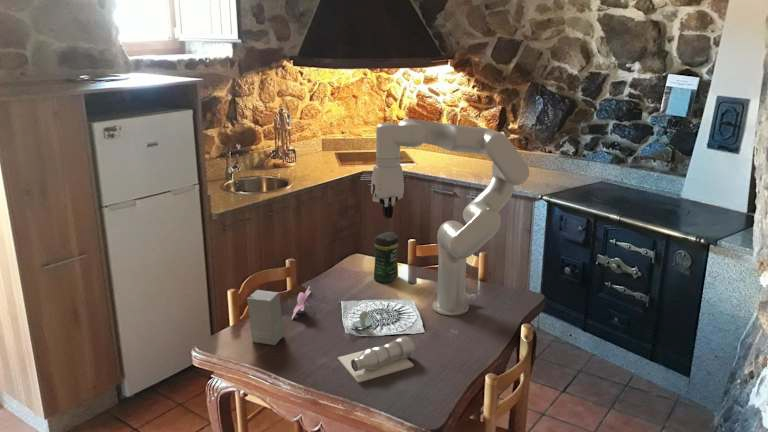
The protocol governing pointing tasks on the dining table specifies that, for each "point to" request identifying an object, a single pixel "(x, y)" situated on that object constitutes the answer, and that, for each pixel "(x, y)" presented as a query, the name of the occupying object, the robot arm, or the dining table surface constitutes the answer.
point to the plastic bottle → (384, 354)
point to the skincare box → (265, 317)
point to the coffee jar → (386, 257)
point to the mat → (381, 371)
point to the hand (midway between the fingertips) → (387, 217)
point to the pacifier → (362, 321)
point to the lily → (302, 302)
